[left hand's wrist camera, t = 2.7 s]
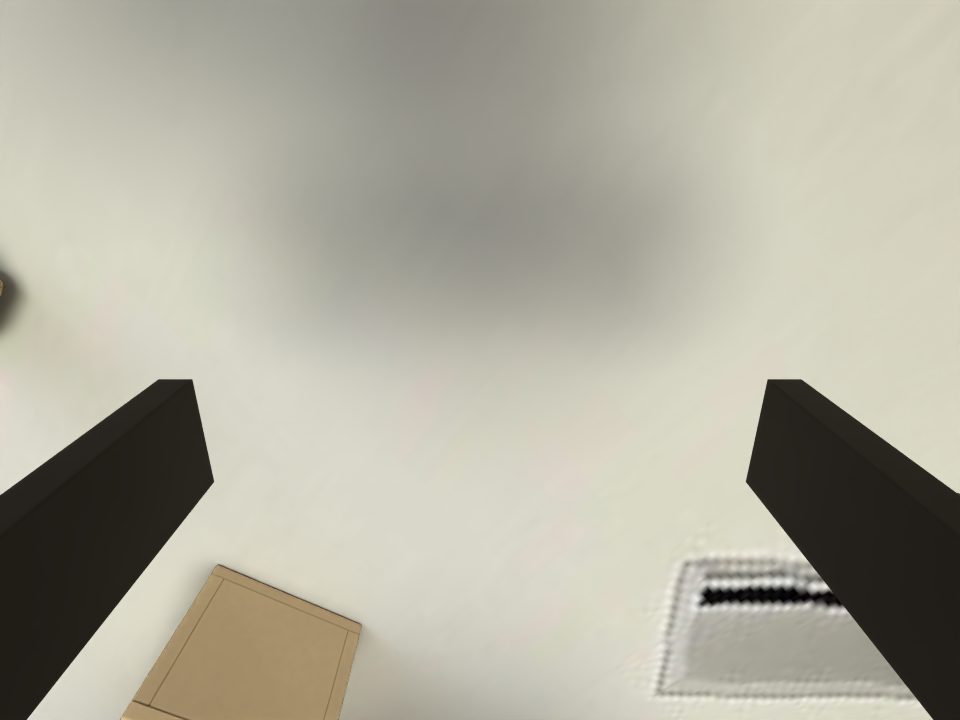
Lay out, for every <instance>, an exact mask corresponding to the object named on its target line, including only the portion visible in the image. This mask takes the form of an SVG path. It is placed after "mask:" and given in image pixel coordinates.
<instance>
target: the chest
mask: <svg viewBox="0 0 960 720" xmlns="http://www.w3.org/2000/svg"><path fill="white" fill-rule="evenodd" d="M360 630H361V625H360V624H358V623H355V622H353V621H350V620H348V619H346V618H343V617H341V616H338V615H336V614H334V613H331V612H329V611H327V610H324V609H322V608H319V607H317V606H315V605H312V604H310V603H307V602H305V601H303V600H300V599H298V598H296V597H293V596H291V595H288V594H286V593H284V592H281V591H279V590H277V589H274V588H272V587H269V586H267V585H265V584H262V583H260V582H257V581H255V580H253V579H250V578H248V577H246V576H243V575H241V574H238V573H236V572H234V571H231V570H229V569H226V568H224V567H222V566H219V565H217V566H216V567H215V569H214V571H213V572H212V574H211V575H210V577H209V578H208V580H207V582H206V583H205V585H204V586H203V588H202V590H201V591H200V593H199V594H198V596H197V598H196V599H195V601H194V602H193V604H192V606H191V607H190V609H189V610H188V612H187V613H186V615H185V617H184V618H183V620H182V621H181V623H180V625H179V626H178V628H177V629H176V631H175V633H174V634H173V636H172V637H171V639H170V641H169V642H168V644H167V645H166V647H165V649H164V650H163V652H162V653H161V655H160V656H159V658H158V660H157V661H156V663H155V664H154V666H153V668H152V669H151V671H150V672H149V674H148V676H147V677H146V679H145V680H144V682H143V684H142V685H141V687H140V688H139V690H138V692H137V693H136V695H135V696H134V698H133V700H132V702H136V703H139V704H142V705H144V706H147V707H150V708H153V709H156V710H158V711H161V712H164V713H167V714H169V715H172V716H175V717H178V718H181V719H183V720H339V716H340V712H341V708H342V704H343V700H344V696H345V692H346V688H347V683H348V679H349V675H350V671H351V667H352V663H353V659H354V655H355V651H356V647H357V643H358V639H359V634H360Z"/></svg>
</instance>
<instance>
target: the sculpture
mask: <svg viewBox="0 0 960 720" xmlns="http://www.w3.org/2000/svg"><path fill="white" fill-rule="evenodd" d="M2 288H3V283H2V281H1V280H0V296H1V293H2Z"/></svg>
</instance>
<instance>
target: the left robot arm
mask: <svg viewBox="0 0 960 720" xmlns="http://www.w3.org/2000/svg"><path fill="white" fill-rule="evenodd" d="M213 483H214V479H213V474H212V470H211V465H210V460H209V456H208V451H207V446H206V442H205V437H204V432H203V427H202V423H201V418H200V413H199V409H198V404H197V399H196V395H195V390H194V385H193V381H192V379H159V380H157V381H156V382H155V383H153V384H152V385H150V386H149V387H148V388H146V389H145V390H144V391H142V392H141V393H140V394H138V395H137V396H135V397H134V398H133V399H131V400H130V401H129V402H127V403H126V404H124V405H123V406H122V407H120V408H119V409H118V410H116V411H115V412H114V413H112V414H111V415H109V416H108V417H107V418H105V419H104V420H103V421H101V422H100V423H99V424H97V425H96V426H94V427H93V428H92V429H90V430H89V431H88V432H86V433H85V434H83V435H82V436H81V437H79V438H78V439H77V440H75V441H74V442H73V443H71V444H70V445H68V446H67V447H66V448H64V449H63V450H62V451H60V452H59V453H57V454H56V455H55V456H53V457H52V458H51V459H49V460H48V461H47V462H45V463H44V464H42V465H41V466H40V467H38V468H37V469H36V470H34V471H33V472H32V473H30V474H29V475H27V476H26V477H25V478H23V479H22V480H21V481H19V482H18V483H16V484H15V485H14V486H12V487H11V488H10V489H8V490H7V491H6V492H4V493H3V494H1V495H0V720H27V719H28V717H29V716H30V715H31V714H32V712H33V711H34V710H35V708H36V707H37V706H38V705H39V703H40V702H41V701H42V700H43V698H44V697H45V696H46V694H47V693H48V692H49V691H50V689H51V688H52V687H53V686H54V684H55V683H56V682H57V681H58V679H59V678H60V677H61V675H62V674H63V673H64V672H65V670H66V669H67V668H68V667H69V665H70V664H71V663H72V661H73V660H74V659H75V658H76V656H77V655H78V654H79V653H80V651H81V650H82V649H83V648H84V646H85V645H86V644H87V642H88V641H89V640H90V639H91V637H92V636H93V635H94V634H95V632H96V631H97V630H98V628H99V627H100V626H101V625H102V623H103V622H104V621H105V620H106V618H107V617H108V616H109V615H110V613H111V612H112V611H113V609H114V608H115V607H116V606H117V604H118V603H119V602H120V601H121V599H122V598H123V597H124V596H125V594H126V593H127V592H128V590H129V589H130V588H131V587H132V585H133V584H134V583H135V582H136V580H137V579H138V578H139V576H140V575H141V574H142V573H143V571H144V570H145V569H146V568H147V566H148V565H149V564H150V563H151V561H152V560H153V559H154V557H155V556H156V555H157V554H158V552H159V551H160V550H161V549H162V547H163V546H164V545H165V543H166V542H167V541H168V540H169V538H170V537H171V536H172V535H173V533H174V532H175V531H176V530H177V528H178V527H179V526H180V524H181V523H182V522H183V521H184V519H185V518H186V517H187V516H188V514H189V513H190V512H191V510H192V509H193V508H194V507H195V505H196V504H197V503H198V502H199V500H200V499H201V498H202V497H203V495H204V494H205V493H206V491H207V490H208V489H209V488H210V486H211V485H212V484H213ZM746 483H747V484H748V485H749V486H750V488H751V489H752V490H753V491H754V493H755V494H756V495H757V497H758V498H759V499H760V500H761V502H762V503H763V504H764V505H765V507H766V508H767V509H768V510H769V512H770V513H771V514H772V516H773V517H774V518H775V519H776V521H777V522H778V523H779V524H780V526H781V527H782V528H783V530H784V531H785V532H786V533H787V535H788V536H789V537H790V538H791V540H792V541H793V542H794V543H795V545H796V546H797V547H798V549H799V550H800V551H801V552H802V554H803V555H804V556H805V557H806V559H807V560H808V561H809V563H810V564H811V565H812V566H813V568H814V569H815V570H816V571H817V573H818V574H819V575H820V576H821V578H822V579H823V580H824V582H825V583H826V584H827V585H828V587H829V588H830V589H831V590H832V592H833V593H834V594H835V596H836V597H837V598H838V599H839V601H840V602H841V603H842V604H843V606H844V607H845V608H846V609H847V611H848V612H849V613H850V615H851V616H852V617H853V618H854V620H855V621H856V622H857V623H858V625H859V626H860V627H861V628H862V630H863V631H864V632H865V634H866V635H867V636H868V637H869V639H870V640H871V641H872V642H873V644H874V645H875V646H876V648H877V649H878V650H879V651H880V653H881V654H882V655H883V656H884V658H885V659H886V660H887V661H888V663H889V664H890V665H891V667H892V668H893V669H894V670H895V672H896V673H897V674H898V675H899V677H900V678H901V679H902V681H903V682H904V683H905V684H906V686H907V687H908V688H909V689H910V691H911V692H912V693H913V694H914V696H915V697H916V698H917V700H918V701H919V702H920V703H921V705H922V706H923V707H924V708H925V710H926V711H927V712H928V714H929V715H930V716H931V717H932V719H933V720H960V494H959V493H956V492H954V491H953V490H952V489H950V488H949V487H948V486H946V485H945V484H944V483H942V482H941V481H939V480H938V479H937V478H935V477H934V476H933V475H931V474H930V473H928V472H927V471H926V470H924V469H923V468H922V467H920V466H919V465H918V464H916V463H915V462H913V461H912V460H911V459H909V458H908V457H907V456H905V455H904V454H903V453H901V452H900V451H898V450H897V449H896V448H894V447H893V446H892V445H890V444H889V443H887V442H886V441H885V440H883V439H882V438H881V437H879V436H878V435H877V434H875V433H874V432H872V431H871V430H870V429H868V428H867V427H866V426H864V425H863V424H861V423H860V422H859V421H857V420H856V419H855V418H853V417H852V416H851V415H849V414H848V413H846V412H845V411H844V410H842V409H841V408H840V407H838V406H837V405H836V404H834V403H833V402H831V401H830V400H829V399H827V398H826V397H825V396H823V395H822V394H820V393H819V392H818V391H816V390H815V389H814V388H812V387H811V386H810V385H808V384H807V383H805V382H804V381H803V380H801V379H768V381H767V385H766V390H765V395H764V399H763V404H762V409H761V413H760V418H759V423H758V427H757V432H756V437H755V442H754V446H753V451H752V456H751V460H750V465H749V470H748V474H747V479H746Z"/></svg>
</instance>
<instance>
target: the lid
mask: <svg viewBox="0 0 960 720" xmlns="http://www.w3.org/2000/svg"><path fill="white" fill-rule="evenodd" d="M120 720H183V719H181V718H178V717H175V716H172V715H169V714H167V713H164V712H161V711H158V710H156V709H153V708H150V707H147V706H144V705H142V704H139V703H136V702H131V703H130V704H129V706H128V707H127V709H126V711H125V712H124V714H123V715H122V717H121V719H120Z"/></svg>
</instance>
